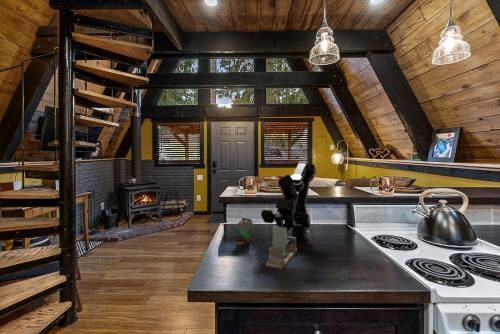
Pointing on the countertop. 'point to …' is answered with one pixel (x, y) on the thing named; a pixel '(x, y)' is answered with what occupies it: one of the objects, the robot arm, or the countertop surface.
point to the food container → (243, 232)
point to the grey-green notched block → (280, 238)
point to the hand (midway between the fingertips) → (280, 237)
